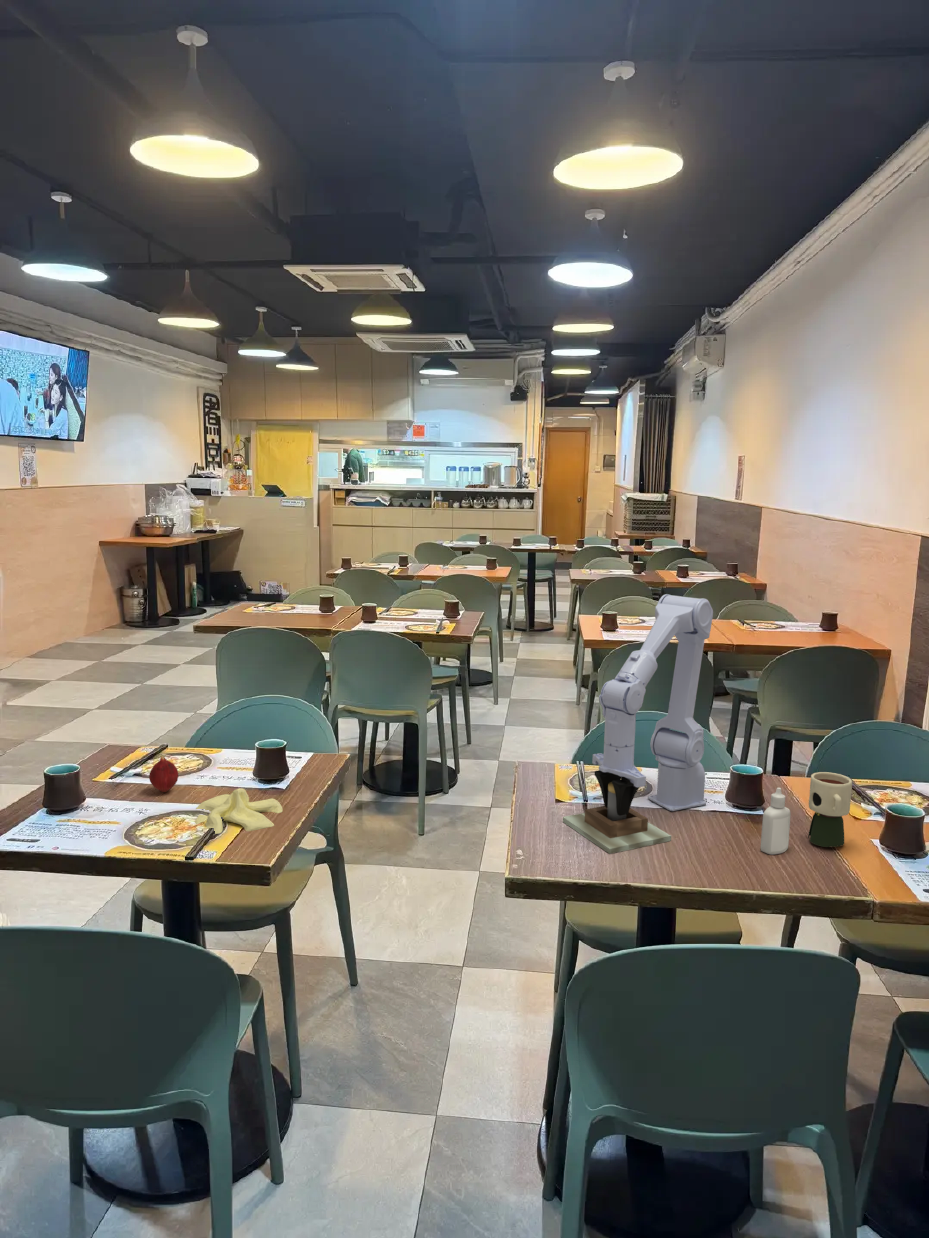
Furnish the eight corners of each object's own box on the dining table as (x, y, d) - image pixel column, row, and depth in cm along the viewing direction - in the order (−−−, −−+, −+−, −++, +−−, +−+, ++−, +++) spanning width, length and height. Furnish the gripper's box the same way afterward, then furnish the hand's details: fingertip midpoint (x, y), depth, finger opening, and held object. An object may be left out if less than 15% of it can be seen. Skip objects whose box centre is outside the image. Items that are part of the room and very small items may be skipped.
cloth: (205, 798, 178) (204, 770, 177) (292, 799, 178) (292, 771, 177) (167, 842, 156) (166, 811, 155) (267, 844, 156) (266, 813, 155)
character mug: (798, 830, 163) (803, 767, 161) (836, 833, 162) (842, 769, 160) (813, 855, 153) (819, 787, 151) (854, 857, 152) (861, 789, 150)
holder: (620, 810, 172) (621, 794, 172) (670, 840, 158) (671, 823, 157) (562, 821, 166) (563, 804, 166) (609, 853, 152) (610, 835, 152)
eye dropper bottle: (794, 854, 153) (799, 792, 151) (764, 855, 152) (768, 792, 150) (783, 844, 157) (788, 783, 155) (754, 845, 157) (759, 784, 155)
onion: (184, 790, 180) (183, 755, 179) (162, 799, 175) (160, 762, 174) (167, 785, 183) (165, 750, 182) (144, 793, 178) (142, 757, 177)
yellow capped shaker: (620, 817, 164) (621, 780, 163) (629, 824, 161) (631, 787, 160) (603, 819, 163) (604, 782, 162) (612, 826, 160) (614, 789, 158)
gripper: (580, 734, 164) (578, 800, 166) (624, 756, 151) (621, 827, 153) (610, 730, 167) (607, 795, 169) (656, 751, 154) (652, 821, 156)
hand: (616, 810), depth 162 cm, fingers closed on yellow capped shaker, 4 cm apart
